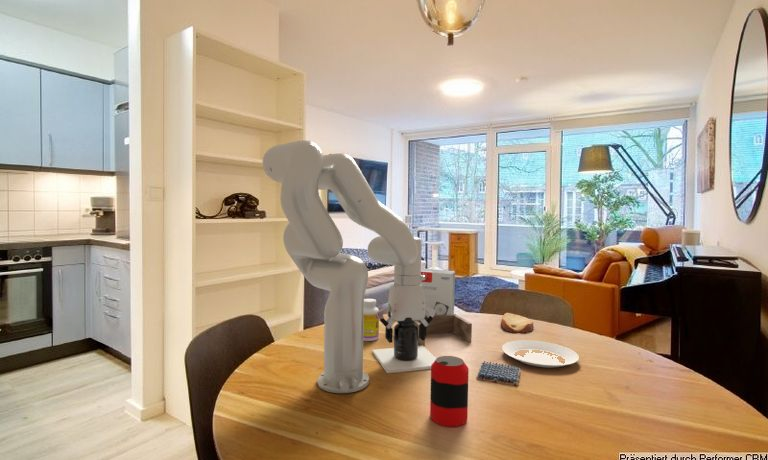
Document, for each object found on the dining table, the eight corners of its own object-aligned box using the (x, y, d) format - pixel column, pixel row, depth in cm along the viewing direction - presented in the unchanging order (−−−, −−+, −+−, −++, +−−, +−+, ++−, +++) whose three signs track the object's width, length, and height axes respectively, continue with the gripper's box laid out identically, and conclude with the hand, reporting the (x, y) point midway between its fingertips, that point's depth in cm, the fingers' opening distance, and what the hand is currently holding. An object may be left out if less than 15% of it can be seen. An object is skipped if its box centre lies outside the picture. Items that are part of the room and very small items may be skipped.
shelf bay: (471, 341, 133) (471, 323, 132) (421, 345, 128) (421, 327, 128) (455, 330, 144) (455, 314, 144) (408, 334, 140) (408, 317, 139)
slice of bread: (511, 317, 165) (511, 308, 165) (550, 328, 150) (550, 318, 150) (479, 323, 156) (479, 313, 156) (517, 336, 141) (517, 325, 140)
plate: (503, 368, 111) (503, 360, 111) (500, 344, 131) (500, 337, 131) (586, 377, 106) (587, 368, 106) (570, 350, 126) (570, 343, 126)
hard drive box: (410, 323, 153) (411, 270, 152) (414, 318, 161) (415, 268, 160) (451, 327, 149) (452, 273, 148) (454, 321, 156) (455, 270, 155)
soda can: (422, 417, 84) (423, 360, 83) (444, 405, 89) (446, 351, 89) (452, 432, 78) (454, 371, 78) (474, 418, 84) (476, 361, 83)
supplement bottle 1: (378, 342, 131) (378, 302, 131) (357, 341, 131) (358, 302, 131) (379, 335, 138) (379, 298, 137) (359, 335, 138) (359, 297, 137)
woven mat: (521, 372, 109) (521, 365, 109) (518, 388, 99) (518, 380, 99) (481, 366, 113) (481, 359, 113) (475, 381, 103) (475, 373, 103)
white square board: (443, 367, 111) (443, 364, 111) (387, 373, 106) (387, 370, 106) (422, 348, 126) (422, 345, 126) (372, 352, 122) (372, 349, 122)
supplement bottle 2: (403, 351, 121) (403, 311, 120) (422, 356, 116) (423, 315, 116) (388, 357, 115) (389, 315, 115) (408, 363, 111) (408, 320, 110)
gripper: (430, 277, 121) (429, 334, 122) (374, 278, 116) (373, 338, 117) (441, 281, 114) (439, 342, 114) (381, 283, 109) (379, 346, 110)
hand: (405, 340), depth 116 cm, fingers open, 9 cm apart
